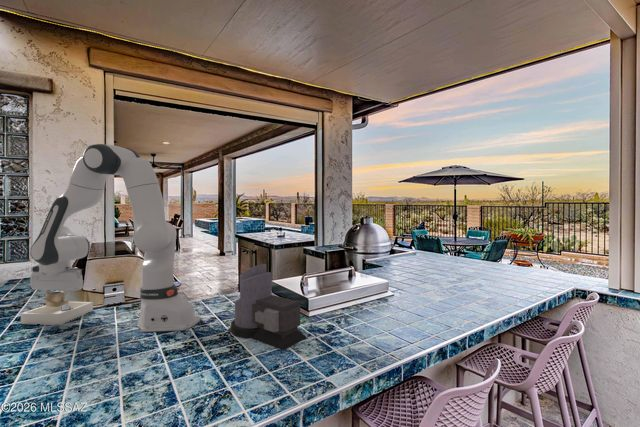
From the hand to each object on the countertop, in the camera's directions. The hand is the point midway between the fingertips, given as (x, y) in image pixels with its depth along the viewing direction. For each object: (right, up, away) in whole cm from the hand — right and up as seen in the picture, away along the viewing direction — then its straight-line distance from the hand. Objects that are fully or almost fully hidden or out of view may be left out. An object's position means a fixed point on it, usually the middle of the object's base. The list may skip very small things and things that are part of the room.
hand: (57, 300), depth 130 cm
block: (0, -2, 0) cm, 2 cm away
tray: (0, -7, 0) cm, 7 cm away
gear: (-15, -7, +18) cm, 24 cm away
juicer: (+87, -7, -16) cm, 88 cm away
